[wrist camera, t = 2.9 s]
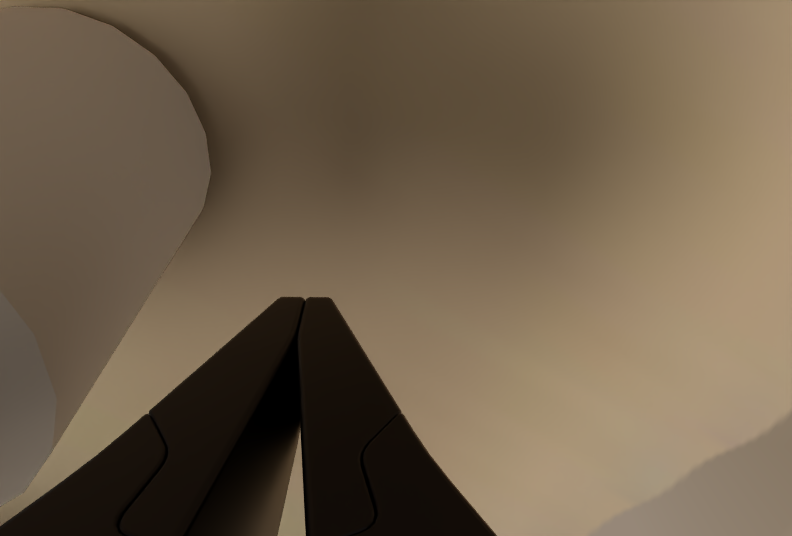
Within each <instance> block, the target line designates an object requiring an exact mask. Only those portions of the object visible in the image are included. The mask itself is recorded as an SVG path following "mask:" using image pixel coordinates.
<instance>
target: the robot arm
mask: <svg viewBox="0 0 792 536" xmlns="http://www.w3.org/2000/svg"><path fill="white" fill-rule="evenodd" d="M300 428H301V448H302V468H303V488H304V508H305V527H306V536H497V535H496V534H495V533H494V532H493V530H492V529H491V528H490V527H489V526H488V525H487V523H486V522H485V521H484V520H483V519H482V517H481V516H480V515H479V514H478V513H477V512H476V510H475V509H474V508H473V507H472V506H471V504H470V503H469V502H468V501H467V500H466V499H465V497H464V496H463V495H462V494H461V493H460V491H459V490H458V489H457V488H456V487H455V485H454V484H453V483H452V482H451V481H450V479H449V478H448V477H447V476H446V474H445V473H444V472H443V471H442V469H441V468H440V467H439V466H438V464H437V463H436V462H435V461H434V459H433V458H432V457H431V456H430V454H429V453H428V451H427V450H426V448H425V447H424V445H423V444H422V442H421V441H420V439H419V438H418V437H417V435H416V434H415V432H414V431H413V429H412V427H411V426H410V424H409V423H408V421H407V419H406V418H405V416H404V415H403V414H401V410H400V408H399V407H398V405H397V404H396V402H395V400H394V399H393V397H392V396H391V394H390V392H389V391H388V389H387V387H386V386H385V384H384V383H383V381H382V379H381V378H380V376H379V374H378V373H377V371H376V370H375V368H374V366H373V365H372V363H371V362H370V360H369V358H368V357H367V355H366V353H365V352H364V350H363V349H362V347H361V345H360V344H359V342H358V341H357V339H356V337H355V336H354V334H353V332H352V331H351V329H350V328H349V326H348V324H347V323H346V321H345V320H344V318H343V316H342V315H341V313H340V311H339V310H338V308H337V307H336V305H335V303H334V302H333V300H332V299H331V298H329V297H309V298H307V299H306V301H305V299H304V298H302V297H280V298H279V299H277V300H276V301H275V302H274V303H273V304H271V305H270V306H269V307H268V308H267V309H266V310H265V311H263V312H262V313H261V314H260V315H259V316H258V317H257V318H255V319H254V320H253V321H252V322H251V323H250V324H249V325H247V326H246V327H245V328H244V329H243V330H242V331H240V332H239V333H238V334H237V335H236V336H235V337H234V338H232V339H231V340H230V341H229V342H228V343H227V344H226V345H224V346H223V347H222V348H221V349H220V350H219V351H218V352H216V353H215V354H214V355H213V356H212V357H211V358H209V359H208V360H207V361H206V362H205V363H204V364H203V365H201V366H200V367H199V368H198V369H197V370H196V371H195V372H193V373H192V374H191V375H190V376H189V377H188V378H187V379H185V380H184V381H183V382H182V383H181V384H180V385H179V386H177V387H176V388H175V389H174V390H173V391H172V392H170V393H169V394H168V395H167V396H166V397H165V398H164V399H162V400H161V401H160V402H159V403H158V404H157V405H156V406H154V407H153V408H152V409H151V410H150V411H149V415H148V414H145V415H144V416H143V417H141V418H140V419H139V420H138V421H137V422H136V423H135V424H133V425H132V426H131V427H130V428H129V429H128V430H127V431H125V432H124V433H123V434H122V435H121V436H119V437H118V438H117V439H116V440H114V441H113V442H112V443H111V444H110V445H108V446H107V447H106V448H105V449H104V450H102V451H101V452H100V453H99V454H98V455H96V456H95V457H94V458H92V459H91V460H90V461H88V462H87V463H86V464H84V465H83V466H82V467H81V468H79V469H78V470H77V471H75V472H74V473H73V474H71V475H70V476H69V477H67V478H66V479H65V480H63V481H62V482H61V483H59V484H58V485H57V486H55V487H54V488H53V489H51V490H50V491H48V492H47V493H46V494H44V495H43V496H42V497H40V498H39V499H37V500H36V501H35V502H33V503H32V504H31V505H29V506H28V507H26V508H25V509H24V510H22V511H21V512H19V513H18V514H17V515H15V516H14V517H13V518H11V519H10V520H8V521H7V522H6V523H4V524H3V525H2V526H0V536H277V535H278V530H279V526H280V521H281V517H282V512H283V508H284V503H285V498H286V494H287V489H288V485H289V480H290V476H291V471H292V467H293V462H294V457H295V453H296V448H297V444H298V438H299V433H300Z"/></svg>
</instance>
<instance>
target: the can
mask: <svg viewBox="0 0 792 536" xmlns="http://www.w3.org/2000/svg"><path fill="white" fill-rule="evenodd" d="M210 176H211V169H210V161H209V153H208V146H207V138H206V133H205V131H204V129H203V126H202V124H201V122H200V120H199V118H198V116H197V113H196V111H195V109H194V107H193V105H192V103H191V101H190V98H189V96H188V94H187V92H186V91H185V90H184V89H183V88H182V87H181V85H180V84H179V83H178V82H177V81H176V80H175V78H174V77H173V76H172V75H171V74H170V72H169V71H168V70H167V69H166V68H165V67H164V65H163V64H162V63H161V62H160V61H159V60H158V58H157V57H156V56H155V55H154V54H152V53H151V52H149V51H148V50H146V49H145V48H144V47H142V46H141V45H139V44H138V43H136V42H135V41H134V40H132V39H131V38H129V37H128V36H126V35H125V34H124V33H122V32H121V31H119V30H118V29H116V28H115V27H114V26H112V25H109V24H106V23H103V22H101V21H98V20H95V19H92V18H89V17H87V16H84V15H81V14H78V13H75V12H73V11H70V10H67V9H64V8H44V7H19V6H14V7H8V8H2V9H0V507H1V506H2V505H4V504H6V503H7V502H9V501H11V500H12V499H14V498H16V497H17V496H19V495H21V494H22V493H24V492H25V490H26V489H27V487H28V486H29V484H30V483H31V481H32V480H33V478H34V477H35V476H36V474H37V473H38V471H39V470H40V468H41V467H42V465H43V464H44V462H45V461H46V460H47V458H48V457H49V455H50V454H51V452H52V451H53V449H54V447H55V446H56V444H57V443H58V441H59V439H60V438H61V436H62V435H63V433H64V431H65V430H66V428H67V427H68V425H69V423H70V422H71V420H72V419H73V417H74V415H75V414H76V412H77V410H78V409H79V407H80V406H81V404H82V402H83V401H84V399H85V398H86V396H87V394H88V393H89V391H90V390H91V388H92V386H93V385H94V383H95V382H96V380H97V378H98V377H99V375H100V373H101V372H102V370H103V369H104V367H105V365H106V364H107V362H108V361H109V359H110V357H111V356H112V354H113V353H114V351H115V349H116V348H117V346H118V345H119V343H120V341H121V340H122V338H123V337H124V335H125V333H126V332H127V330H128V328H129V327H130V325H131V324H132V322H133V320H134V319H135V317H136V316H137V314H138V312H139V311H140V309H141V308H142V306H143V304H144V303H145V301H146V300H147V298H148V296H149V295H150V293H151V291H152V290H153V288H154V287H155V285H156V283H157V282H158V280H159V279H160V277H161V275H162V274H163V272H164V271H165V269H166V267H167V266H168V264H169V263H170V261H171V259H172V258H173V256H174V254H175V253H176V251H177V250H178V248H179V246H180V245H181V243H182V242H183V240H184V238H185V237H186V235H187V234H188V232H189V230H190V229H191V227H192V226H193V224H194V222H195V221H196V219H197V217H198V216H199V214H200V213H201V211H202V209H203V208H204V203H205V199H206V194H207V190H208V185H209V180H210Z"/></svg>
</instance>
